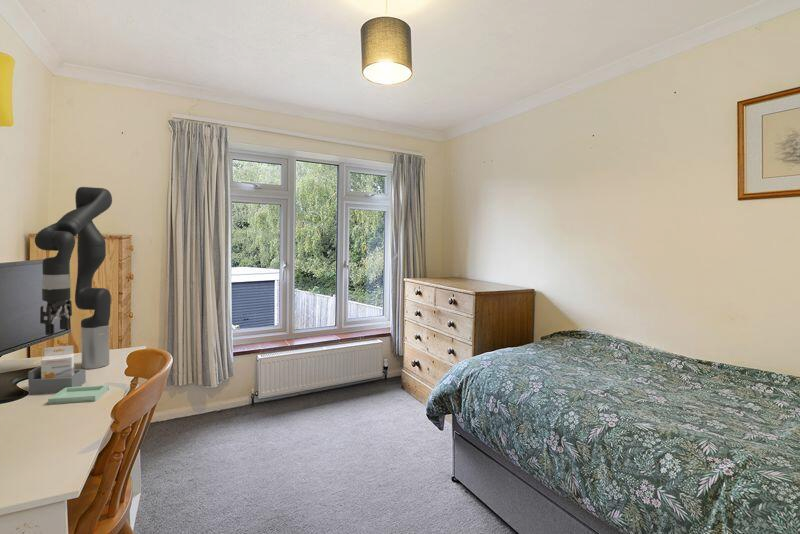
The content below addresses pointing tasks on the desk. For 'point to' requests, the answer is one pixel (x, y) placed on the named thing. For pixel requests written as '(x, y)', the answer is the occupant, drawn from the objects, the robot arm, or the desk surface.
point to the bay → (53, 381)
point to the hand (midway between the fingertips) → (57, 331)
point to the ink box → (57, 362)
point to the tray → (78, 394)
